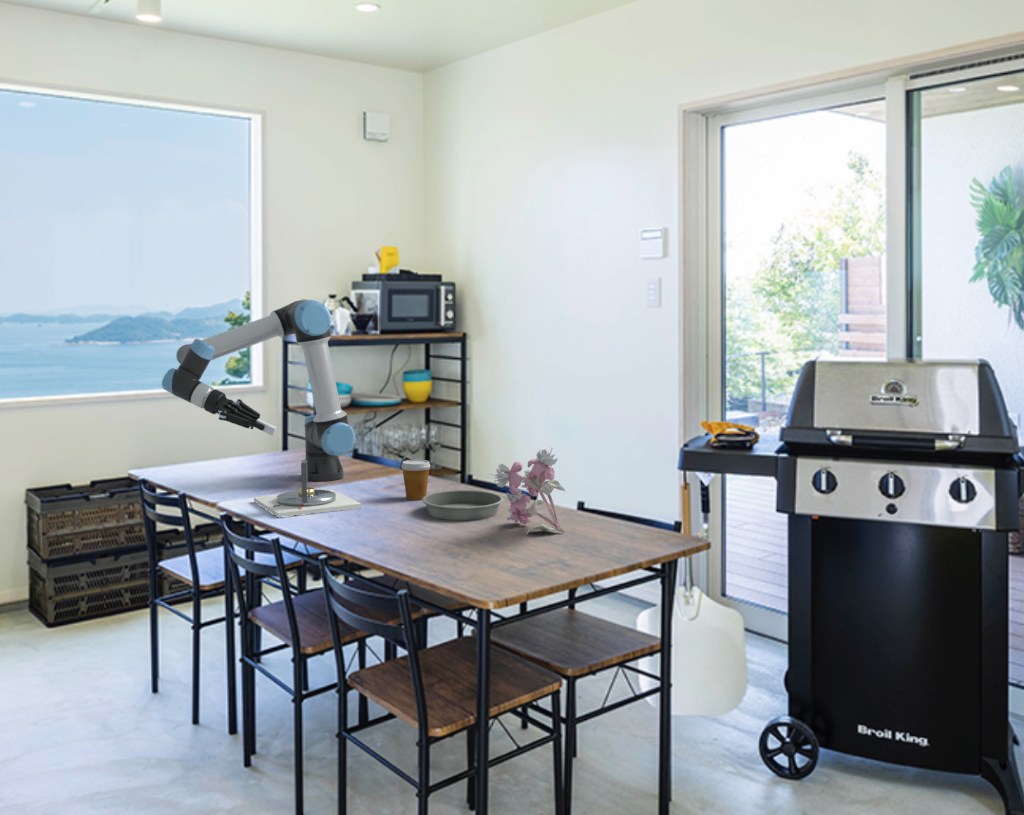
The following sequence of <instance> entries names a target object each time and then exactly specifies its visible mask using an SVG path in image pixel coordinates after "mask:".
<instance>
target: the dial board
mask: <svg viewBox="0 0 1024 815" xmlns="http://www.w3.org/2000/svg"><path fill="white" fill-rule="evenodd" d="M326 490H327V491H332V492H334V493H335V494H336V499H335V500H334V501H332V502H329V503H325V504H320V505H310V506H292V505H284V504H280V503H278V502H277V496H278V495H279V494H273V495H265V496H256V497H253V502H254V501H255V502H257V503H258V504H260V505H261V506H263V507H264V508H266V509H267V510H268V511H270V512H272V513H273V514H274V515H276V516H277V517H282V516H293V517H295V516H294V515H302V514H310V513H319V512H327V513H332V512H331V511H335V512H341V511H340V510H344V511H350V510H358V509H359V510H360V509H362V503H361V502H358V501H357V500H355V499H353V498H350V497H348V496H346V495H344V494H342V493H340V492H339V491H336V490H335V489H326ZM255 502H254V503H255ZM258 504H257V505H258ZM261 506H260V507H261ZM264 508H263V509H264ZM267 510H266V511H267ZM268 511H267V512H268ZM329 511H330V512H329ZM270 512H269V513H270ZM273 514H272V515H273ZM319 514H320V513H319ZM274 515H273V516H274ZM310 515H311V514H310ZM276 516H275V517H276ZM302 516H303V515H302ZM277 517H276V518H277Z"/></svg>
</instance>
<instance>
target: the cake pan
mask: <svg viewBox="0 0 1024 815" xmlns="http://www.w3.org/2000/svg"><path fill="white" fill-rule="evenodd" d="M421 501H422V502H423V504H425V506H426V510H427V514H428V515H429V516H432V517H433V518H438V519H443V520H454V521H456V520H457V521H459V520H460V521H461V520H463V521H466V520H478V519H479V520H481V519H485V518H490V517H493V516H495V515H497V514H498V512H499V507H500V504H501V503H503V501H504V498H503V496H501V495H500V494H498V493H494V492H489V491H482V490H469V489H468V490H467V489H466V490H465V489H462V490H461V489H460V490H458V489H457V490H456V489H455V490H445V491H438V492H433V493H429V494H426V496H425V497H423V499H422V500H421Z"/></svg>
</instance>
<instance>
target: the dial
mask: <svg viewBox="0 0 1024 815" xmlns="http://www.w3.org/2000/svg"><path fill="white" fill-rule="evenodd" d="M300 472H301V473H300V478H301V487H299V488H298V489H296V490H290V491H289V490H288V491H285V492H282V493H279V494H277V495H278V496H277V502H278V503H280V504H284V505H292V506H310V505H320V504H325V503H329V502H332V501H334V500H335V499H336V494H335V493H334V492H332V491H327V490H328V489H315V487H311V486H310V487H309V483H308V482H309V481H308V474H307V460H305V459H302V460H301V463H300Z"/></svg>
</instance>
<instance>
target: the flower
mask: <svg viewBox="0 0 1024 815" xmlns="http://www.w3.org/2000/svg"><path fill="white" fill-rule="evenodd" d="M550 449H551V450H550V452H549V450H548V451H547V449H542V450H541V449H539V450H538V451H537V453H536V455H535V456H536V458H531V459H529V461H527V468H531V469H526V470H524V471H523V472H524V473H525V474H524V475H521V474H519V472H521V471H522V469H523V467H524V465H523V464H522V463H521V462H520V461H515V462H514V463H512V465H511V468H509V467H508V466H507V464H505V463H500V464H498V467H497V468H496V470H495V471H496V474H493V473H489V475H491V476H494V479H497V480H494V483H496V482H497V483H496V486H497V487H498V488H504V487H505V486H506V485H507V484H508V487H509V489H508V490H509V491H510V493H509V492H507V493H506V499H507V500H508V502H509V503H510V506H509V507H510V508H508V510H507V513H509V516H507V517H506V520H507V521H511V520H512V521H514V523H513V525H516V524H518V523H519V524H521V525H527V524H529V523H531V519H530V518H533V516H538V517H539V518H541V519H542V520H544V521H545V522H547V523H549V524H550V525H551V526H550V525H548V524H544V523H540V524H537V525H534V526H532V527H530V528H528V529H527V532H526V535H528V534H529V532H530V531H534V530H540V531H542V532H547V531H556V532H560V533H562V534H565V531H564V530H563V529H562V528H561V527H560V525H559V521H558V520H559V519H558V515H557V512H556V508H555V505H554V501H553V498H552V496H551V494H552V493H553V491H554V489H556V490H559V491H564V492H566V490H565V488H564V487H563V486H562V485H561V483H560V482H559V480H557V479H555V477H556V476H555V473H556V472H555V470H554V467H553V465H556V463H557V461H558V458H554V456H555V454H551V453H552V451H553V447H551V448H550ZM531 466H532V467H531ZM521 484H523V485H521ZM519 487H520V488H523V489H524V488H526V491H528V494H529V495H530V496H532V497H538V496H539V495H540V496H541V499H535V500H534V502H533V503H532V504H531V506H530V507H528V508H527V506H528V504H530V503H531V497H530V496H529V495H527V494H525V493H523V491H522V490H521V489H520V488H519ZM538 493H539V494H538ZM545 495H546V496H547V498H548V500H549V502H548V500H547V498H546V497H545ZM549 503H550V504H549ZM543 504H545V505H546V507H547V511H548V512H549V514H550V516H551V518H552V520H551V519H550V518H548V517H547V516H545V515H543V514H541V513H539V512H538V506H540V505H543ZM552 526H553V527H552Z"/></svg>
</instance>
